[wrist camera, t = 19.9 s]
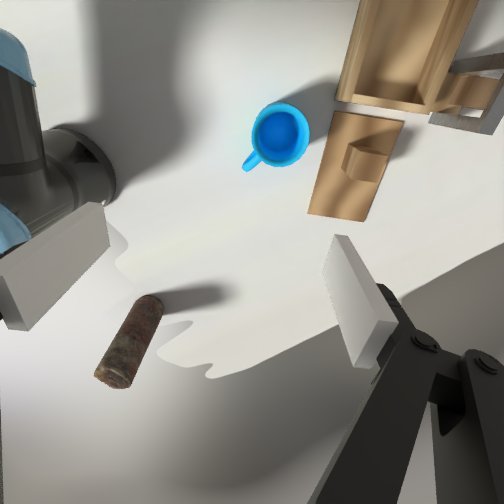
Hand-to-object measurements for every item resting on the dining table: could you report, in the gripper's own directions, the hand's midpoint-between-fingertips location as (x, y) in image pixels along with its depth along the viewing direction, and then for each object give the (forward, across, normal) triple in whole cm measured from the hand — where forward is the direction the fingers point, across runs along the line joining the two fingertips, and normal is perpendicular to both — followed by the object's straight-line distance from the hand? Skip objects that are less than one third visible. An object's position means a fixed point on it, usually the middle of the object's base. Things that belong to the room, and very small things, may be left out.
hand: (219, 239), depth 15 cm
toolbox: (+34, +22, +17) cm, 44 cm away
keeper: (+34, +29, +11) cm, 46 cm away
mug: (+35, +4, +1) cm, 35 cm away
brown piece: (+36, -19, -42) cm, 58 cm away
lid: (+35, +19, -3) cm, 40 cm away
